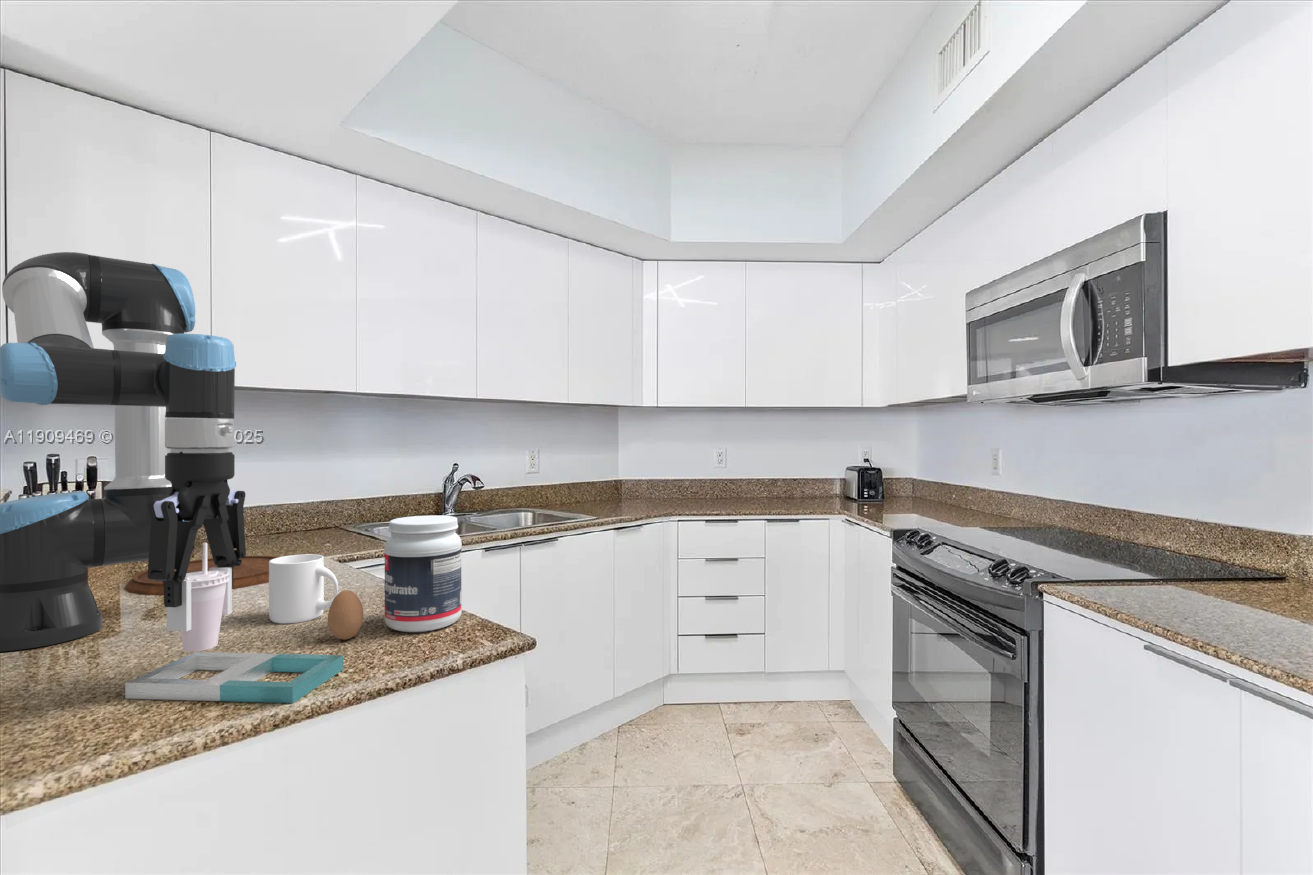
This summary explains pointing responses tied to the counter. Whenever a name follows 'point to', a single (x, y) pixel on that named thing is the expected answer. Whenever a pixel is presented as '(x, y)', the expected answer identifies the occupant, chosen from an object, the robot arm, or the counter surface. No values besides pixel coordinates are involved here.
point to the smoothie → (205, 607)
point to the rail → (235, 677)
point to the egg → (345, 615)
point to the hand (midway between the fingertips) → (200, 621)
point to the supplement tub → (422, 573)
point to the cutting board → (244, 575)
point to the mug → (298, 588)
